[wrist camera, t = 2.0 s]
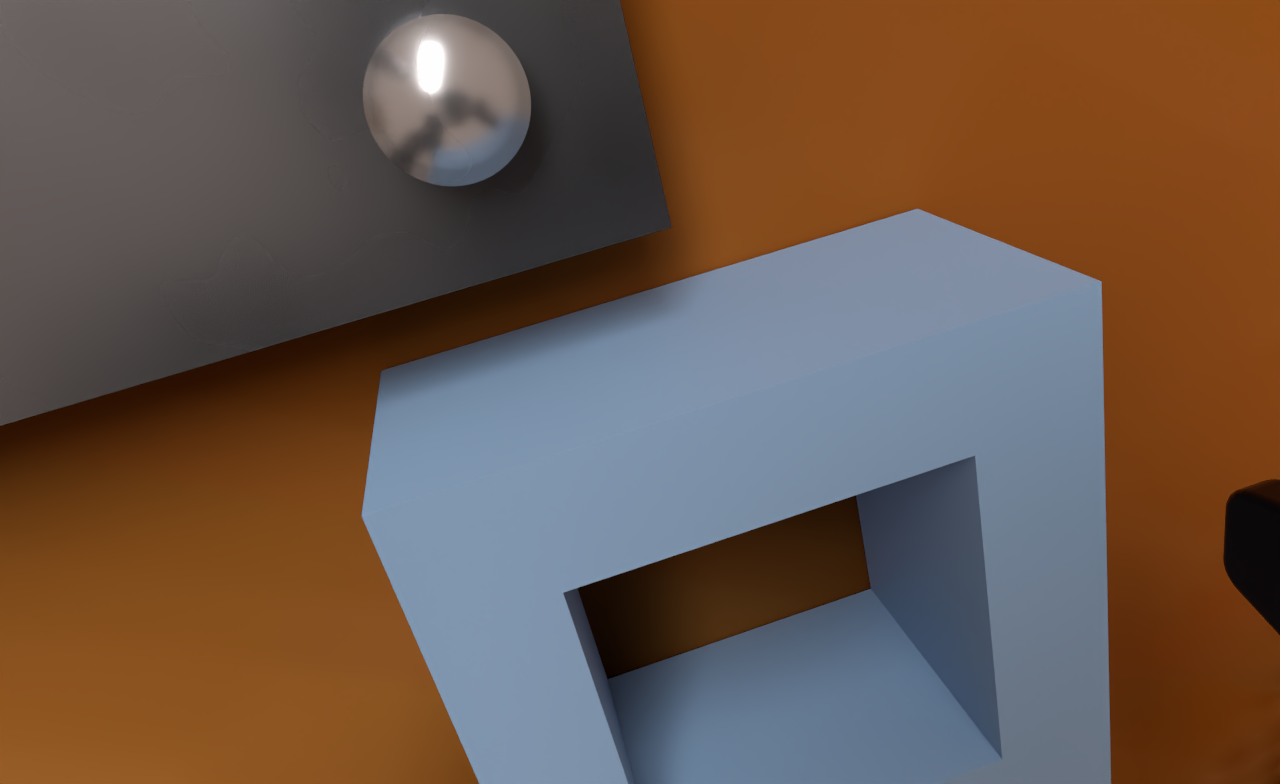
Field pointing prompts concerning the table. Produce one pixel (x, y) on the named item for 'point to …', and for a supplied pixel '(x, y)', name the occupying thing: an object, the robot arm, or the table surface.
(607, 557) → the blue square ring
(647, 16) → the table surface
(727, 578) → the table surface
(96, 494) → the table surface
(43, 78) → the keeper plate
